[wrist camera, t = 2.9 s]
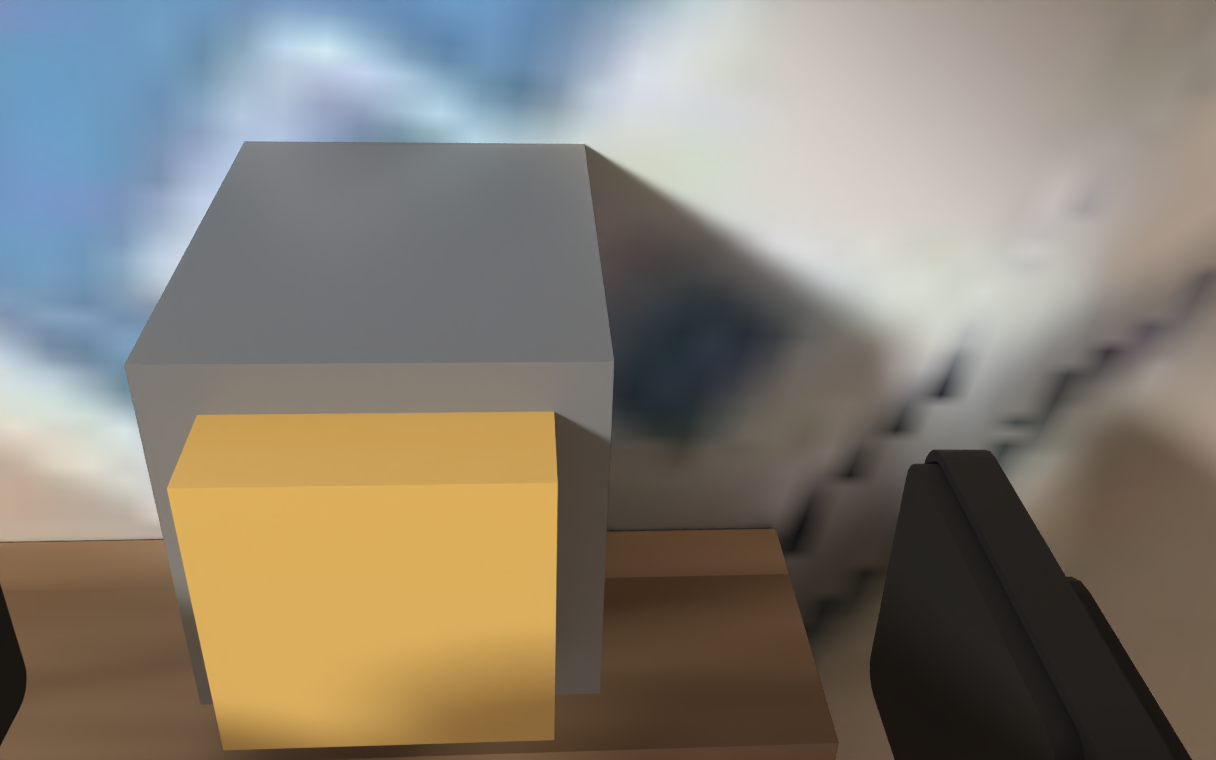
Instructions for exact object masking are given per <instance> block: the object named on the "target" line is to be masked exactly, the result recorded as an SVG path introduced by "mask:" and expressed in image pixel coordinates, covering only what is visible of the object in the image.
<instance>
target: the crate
mask: <svg viewBox="0 0 1216 760" xmlns="http://www.w3.org/2000/svg"><path fill="white" fill-rule="evenodd" d="M0 584H1V588H2V591H3V594H4V598H5V601H6V604H7V607H8V611H9V614H10V617H11V620H12V624H13V627H14V630H15V634H16V637H17V640H18V643H19V647H20V650H21V653H22V657H23V660H24V663H25V667H26V674H27V683H26V691H25V695H24V699H23V702H22V704H21V707H20V709H19V711H18V713H17V715H16V717H15V719H14V721H13V722H12V724H11V726H10V728H9V730H8V732H7V734H6V736H5V738H4V740H3V742H2V744H1V746H0V760H835V758H836V753H837V748H838V739H837V736H836V732H835V729H834V726H833V722H832V719H831V715H830V712H829V709H828V705H827V702H826V698H825V695H824V692H823V688H822V685H821V681H820V678H819V675H818V671H817V668H816V664H815V661H814V658H813V654H812V651H811V647H810V644H809V641H808V637H807V634H806V630H805V627H804V624H803V620H802V617H801V613H800V610H799V607H798V603H797V600H796V596H795V593H794V590H793V586H792V583H791V579H790V576H789V573H788V569H787V566H786V562H785V559H784V555H783V552H782V549H781V545H780V542H779V538H778V535H777V532H776V529H729V530H674V531H619V532H607V539H606V562H605V585H604V608H603V631H602V654H601V676H600V693H599V694H563V695H555V718H554V740H541V741H509V742H476V743H444V744H412V745H379V746H347V747H315V748H282V749H250V750H223V746H222V742H221V737H220V733H219V728H218V723H217V719H216V714H215V709H214V705H213V704H206V705H201V704H200V699H199V695H198V691H197V686H196V682H195V677H194V673H193V668H192V664H191V659H190V655H189V650H188V646H187V642H186V637H185V633H184V628H183V624H182V619H181V615H180V610H179V606H178V601H177V597H176V593H175V588H174V584H173V579H172V575H171V570H170V566H169V561H168V557H167V552H166V548H165V544H164V540H122V541H66V542H11V543H0Z"/></svg>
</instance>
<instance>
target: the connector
mask: <svg viewBox="0 0 1216 760" xmlns="http://www.w3.org/2000/svg"><path fill="white" fill-rule="evenodd" d="M125 370H126V374H127V379H128V383H129V388H130V392H131V396H132V401H133V405H134V410H135V414H136V419H137V423H138V428H139V432H140V437H141V441H142V445H143V450H144V454H145V459H146V463H147V468H148V472H149V477H150V481H151V486H152V490H153V495H154V499H155V503H156V508H157V512H158V517H159V521H160V526H161V530H162V535H163V539H164V544H165V548H166V552H167V557H168V561H169V566H170V570H171V575H172V579H173V584H174V588H175V593H176V597H177V601H178V606H179V610H180V615H181V619H182V624H183V628H184V633H185V637H186V642H187V646H188V650H189V655H190V659H191V664H192V668H193V673H194V677H195V682H196V686H197V691H198V695H199V699H200V704H201V705H206V704H213V705H214V709H215V714H216V719H217V723H218V728H219V733H220V737H221V742H222V746H223V750H250V749H282V748H315V747H347V746H379V745H412V744H444V743H476V742H509V741H541V740H554V718H555V695H563V694H599V693H600V676H601V654H602V631H603V608H604V585H605V562H606V539H607V516H608V493H609V470H610V447H611V425H612V402H613V379H614V356H613V349H612V342H611V334H610V327H609V320H608V312H607V305H606V298H605V291H604V283H603V276H602V269H601V261H600V254H599V247H598V240H597V232H596V225H595V218H594V210H593V203H592V196H591V188H590V181H589V174H588V167H587V159H586V152H585V145H584V144H507V143H378V142H248V141H245V142H244V144H243V145H242V147H241V149H240V151H239V153H238V155H237V157H236V158H235V160H234V162H233V164H232V166H231V168H230V170H229V171H228V173H227V175H226V177H225V179H224V181H223V183H222V184H221V186H220V188H219V190H218V192H217V194H216V196H215V197H214V199H213V201H212V203H211V205H210V207H209V209H208V210H207V212H206V214H205V216H204V218H203V220H202V222H201V223H200V225H199V227H198V229H197V231H196V233H195V235H194V236H193V238H192V240H191V242H190V244H189V246H188V248H187V249H186V251H185V253H184V255H183V257H182V259H181V261H180V262H179V264H178V266H177V268H176V270H175V272H174V274H173V275H172V277H171V279H170V281H169V283H168V285H167V287H166V288H165V290H164V292H163V294H162V296H161V298H160V300H159V301H158V303H157V305H156V307H155V309H154V311H153V313H152V314H151V316H150V318H149V320H148V322H147V324H146V326H145V327H144V329H143V331H142V333H141V335H140V337H139V339H138V340H137V342H136V344H135V346H134V348H133V350H132V352H131V353H130V355H129V357H128V359H127V361H126V363H125Z"/></svg>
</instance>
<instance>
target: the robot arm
mask: <svg viewBox="0 0 1216 760" xmlns="http://www.w3.org/2000/svg"><path fill="white" fill-rule="evenodd" d="M870 680H871V687H872V691H873V695H874V698H875V701H876V704H877V707H878V710H879V713H880V716H881V719H882V722H883V725H884V728H885V732H886V735H887V738H888V741H889V744H890V747H891V750H892V753H893V756H894V759H895V760H1192V759H1191V757H1190V756H1189V754H1188V753H1187V751H1186V749H1185V748H1184V746H1183V744H1182V743H1181V741H1180V739H1179V738H1178V736H1177V735H1176V733H1175V731H1174V730H1173V728H1172V726H1171V725H1170V723H1169V721H1168V720H1167V718H1166V716H1165V715H1164V713H1163V712H1162V710H1161V708H1160V707H1159V705H1158V703H1157V702H1156V700H1155V698H1154V697H1153V695H1152V694H1151V692H1150V690H1149V689H1148V687H1147V685H1146V684H1145V682H1144V680H1143V679H1142V677H1141V676H1140V674H1139V672H1138V671H1137V669H1136V667H1135V666H1134V664H1133V662H1132V661H1131V659H1130V658H1129V656H1128V654H1127V653H1126V651H1125V649H1124V648H1123V646H1122V644H1121V643H1120V641H1119V639H1118V638H1117V636H1116V635H1115V633H1114V631H1113V630H1112V628H1111V626H1110V625H1109V623H1108V621H1107V620H1106V618H1105V617H1104V615H1103V613H1102V612H1101V610H1100V608H1099V607H1098V605H1097V603H1096V602H1095V600H1094V599H1093V597H1092V595H1091V594H1090V592H1089V591H1088V590H1087V588H1086V587H1085V586H1084V585H1083V584H1082V582H1081V581H1079V580H1077V579H1075V578H1073V577H1066V576H1065V574H1064V573H1063V571H1062V569H1061V568H1060V566H1059V564H1058V563H1057V561H1056V559H1055V557H1054V556H1053V554H1052V552H1051V551H1050V549H1049V547H1048V546H1047V544H1046V542H1045V541H1044V539H1043V537H1042V536H1041V534H1040V532H1039V531H1038V529H1037V527H1036V525H1035V524H1034V522H1033V520H1032V519H1031V517H1030V515H1029V514H1028V512H1027V510H1026V509H1025V507H1024V505H1023V504H1022V502H1021V500H1020V499H1019V497H1018V495H1017V493H1016V492H1015V490H1014V488H1013V487H1012V485H1011V483H1010V482H1009V480H1008V478H1007V477H1006V475H1005V473H1004V472H1003V470H1002V468H1001V467H1000V465H999V463H998V462H997V460H996V458H995V457H994V455H993V454H992V453H991V452H990V451H987V450H933V451H931V452H930V453H929V454H928V456H927V458H926V460H925V464H913V465H911V467H910V468H909V470H908V473H907V477H906V482H905V487H904V492H903V497H902V502H901V507H900V512H899V517H898V522H897V527H896V532H895V537H894V542H893V547H892V552H891V557H890V562H889V567H888V572H887V577H886V582H885V587H884V592H883V597H882V602H881V608H880V613H879V618H878V623H877V628H876V633H875V638H874V643H873V648H872V653H871V659H870ZM26 683H27V674H26V667H25V663H24V660H23V657H22V653H21V650H20V647H19V643H18V640H17V637H16V634H15V630H14V627H13V624H12V620H11V617H10V614H9V611H8V607H7V604H6V601H5V598H4V594H3V591H2V588H1V584H0V746H1V744H2V742H3V740H4V738H5V736H6V734H7V732H8V730H9V728H10V726H11V724H12V722H13V721H14V719H15V717H16V715H17V713H18V711H19V709H20V707H21V704H22V702H23V699H24V695H25V691H26Z"/></svg>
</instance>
